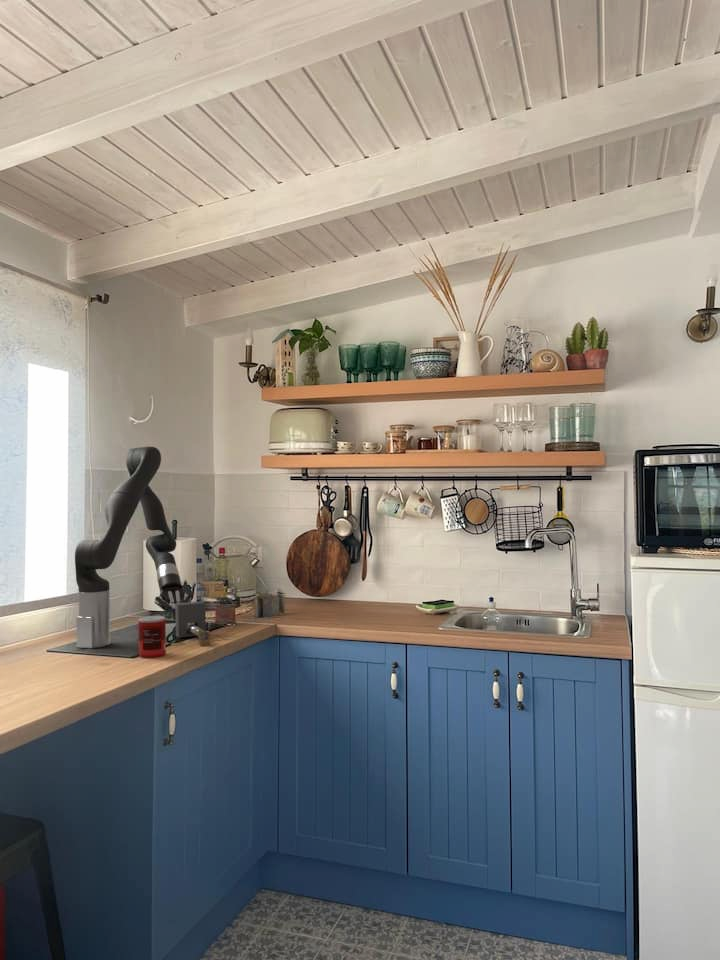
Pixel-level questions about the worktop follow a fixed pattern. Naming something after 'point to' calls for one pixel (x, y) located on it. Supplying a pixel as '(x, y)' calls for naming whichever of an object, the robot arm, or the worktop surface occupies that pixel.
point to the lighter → (225, 611)
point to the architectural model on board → (269, 605)
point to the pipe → (203, 635)
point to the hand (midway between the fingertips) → (178, 619)
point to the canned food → (152, 636)
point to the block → (189, 617)
